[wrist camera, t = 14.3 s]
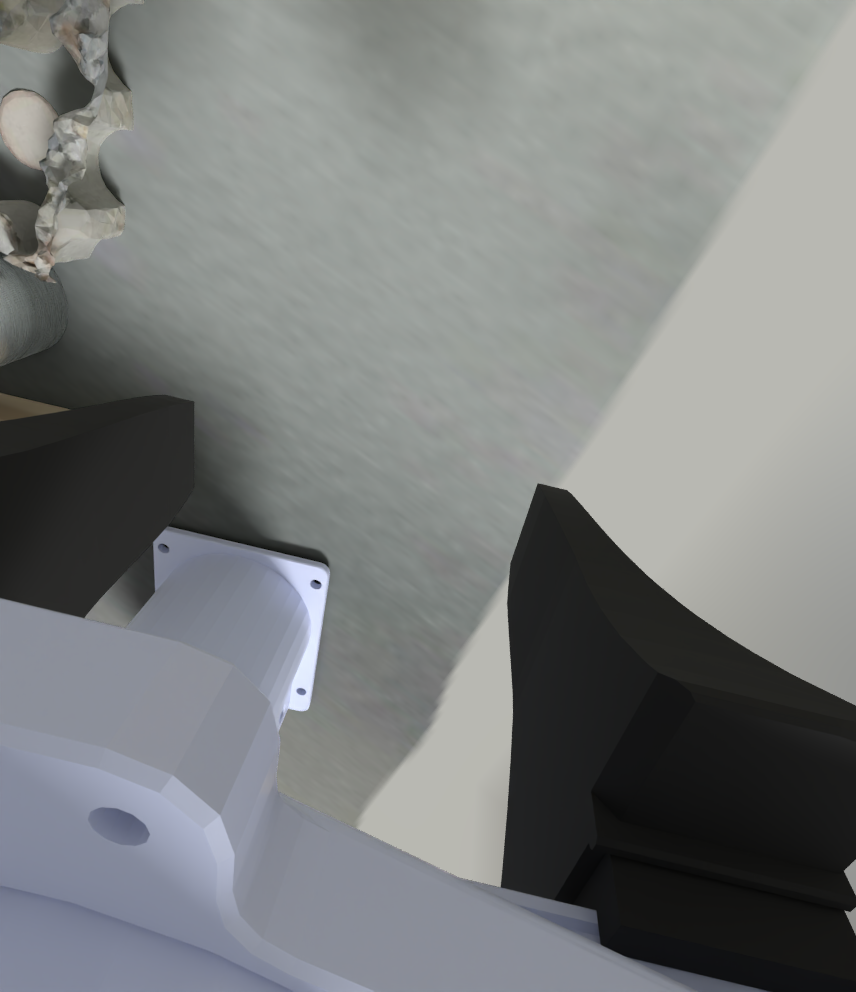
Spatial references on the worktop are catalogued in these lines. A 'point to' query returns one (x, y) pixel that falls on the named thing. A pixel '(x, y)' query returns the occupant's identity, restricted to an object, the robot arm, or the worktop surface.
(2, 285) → the jar with metallic lid
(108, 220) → the egg carton
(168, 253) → the worktop surface
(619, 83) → the worktop surface
